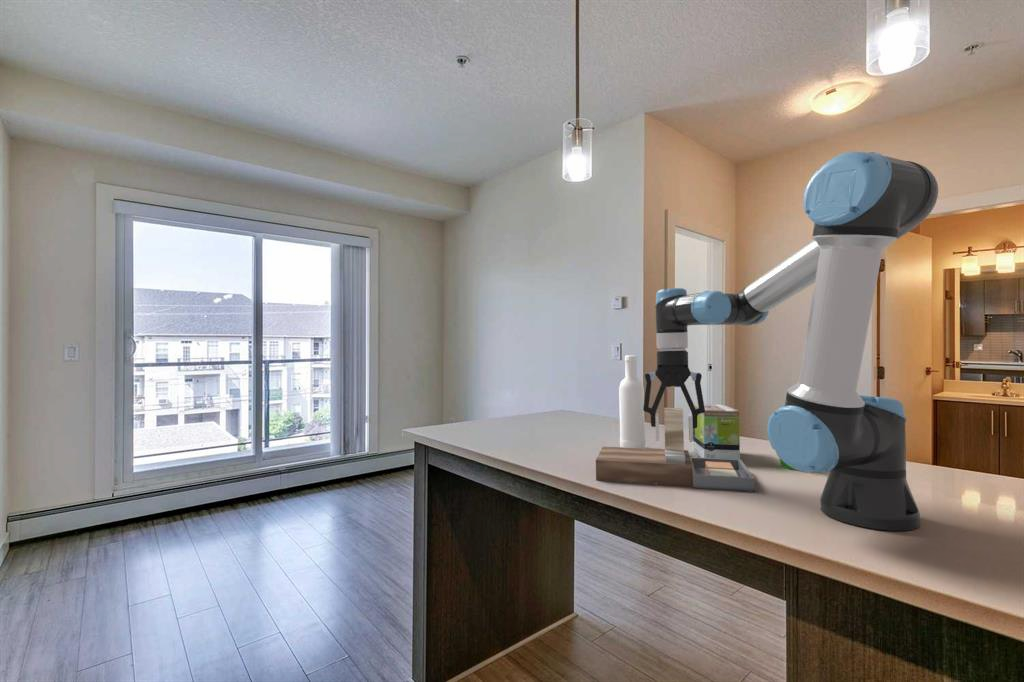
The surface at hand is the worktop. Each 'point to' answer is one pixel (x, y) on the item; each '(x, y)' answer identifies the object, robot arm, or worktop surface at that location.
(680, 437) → the two-tone beige block
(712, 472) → the cream tile
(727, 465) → the terracotta tile
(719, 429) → the tea box
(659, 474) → the board
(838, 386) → the robot arm
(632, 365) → the bottle
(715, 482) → the tray
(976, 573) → the worktop surface
